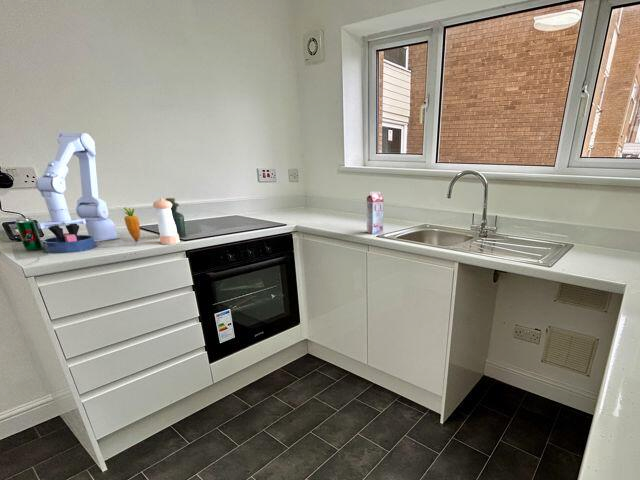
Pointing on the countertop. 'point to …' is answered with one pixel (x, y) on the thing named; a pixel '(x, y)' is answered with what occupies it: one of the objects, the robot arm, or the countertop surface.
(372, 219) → the juice carton
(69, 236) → the eraser
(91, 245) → the bowl
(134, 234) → the carrot
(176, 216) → the green spray bottle
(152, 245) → the countertop surface
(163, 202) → the pepper shaker
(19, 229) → the soda can
